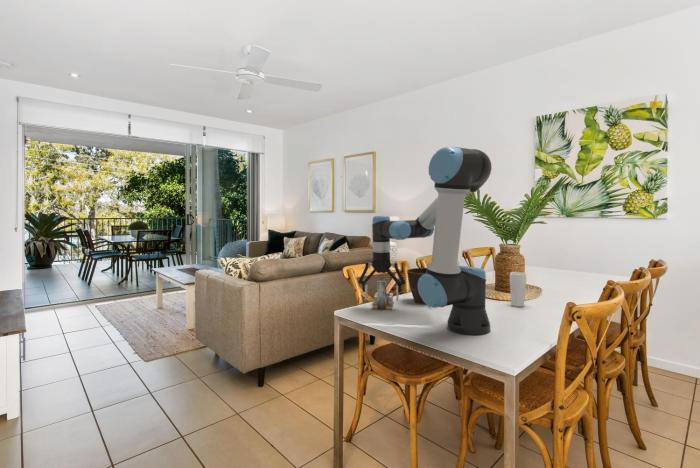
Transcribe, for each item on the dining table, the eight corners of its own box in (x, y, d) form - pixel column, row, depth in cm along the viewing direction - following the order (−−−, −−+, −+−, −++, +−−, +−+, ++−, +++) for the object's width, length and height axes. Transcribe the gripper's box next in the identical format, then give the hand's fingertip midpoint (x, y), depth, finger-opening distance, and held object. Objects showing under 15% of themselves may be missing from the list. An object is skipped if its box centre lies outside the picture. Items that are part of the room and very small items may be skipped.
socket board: (391, 313, 158) (391, 301, 157) (371, 312, 159) (370, 300, 159) (394, 304, 172) (394, 293, 172) (375, 303, 174) (374, 292, 174)
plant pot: (421, 310, 161) (421, 274, 160) (400, 303, 174) (400, 269, 173) (446, 305, 169) (446, 271, 168) (424, 298, 182) (424, 266, 180)
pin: (386, 310, 158) (385, 282, 157) (376, 309, 159) (376, 282, 158) (386, 307, 162) (386, 280, 161) (377, 307, 163) (377, 280, 162)
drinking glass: (517, 303, 171) (518, 271, 170) (529, 306, 164) (529, 273, 163) (506, 304, 169) (506, 272, 168) (517, 308, 162) (517, 274, 161)
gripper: (410, 250, 160) (410, 298, 161) (354, 250, 165) (355, 296, 166) (410, 252, 153) (410, 302, 154) (351, 252, 157) (352, 300, 159)
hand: (381, 299), depth 160 cm, fingers open, 13 cm apart
